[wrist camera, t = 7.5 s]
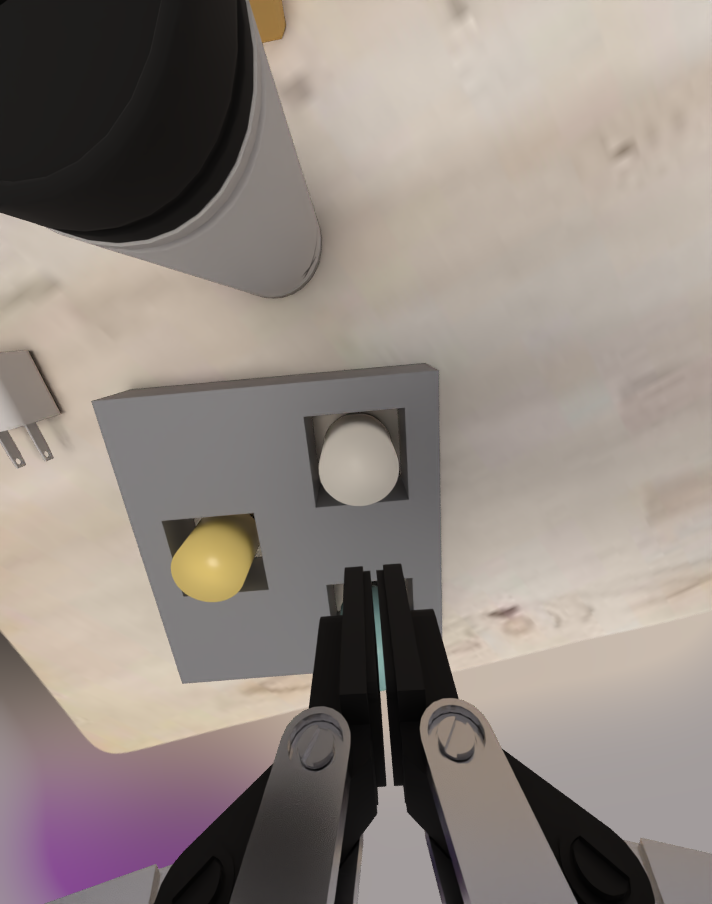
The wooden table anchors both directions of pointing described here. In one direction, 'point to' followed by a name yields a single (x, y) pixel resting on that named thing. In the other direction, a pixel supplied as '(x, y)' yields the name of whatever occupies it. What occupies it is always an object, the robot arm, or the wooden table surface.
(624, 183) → the wooden table surface
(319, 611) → the console
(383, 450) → the ivory button
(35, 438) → the usb wall charger
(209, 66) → the travel mug
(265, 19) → the rubber stamp
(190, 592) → the mustard button
